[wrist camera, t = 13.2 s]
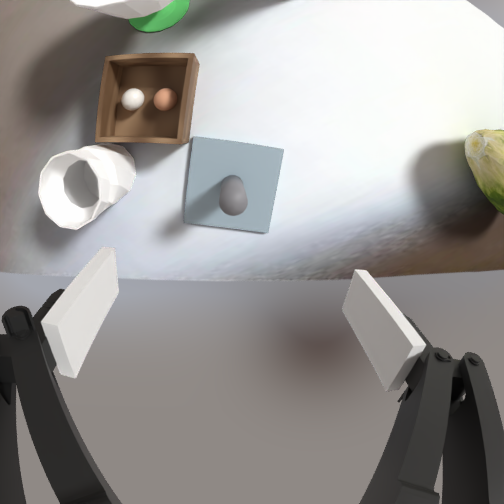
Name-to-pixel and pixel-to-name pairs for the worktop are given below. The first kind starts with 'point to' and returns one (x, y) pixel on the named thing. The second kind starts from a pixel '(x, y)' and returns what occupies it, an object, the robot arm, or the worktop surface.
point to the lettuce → (488, 163)
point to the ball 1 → (132, 99)
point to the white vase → (85, 183)
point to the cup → (140, 11)
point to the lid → (232, 184)
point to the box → (147, 98)
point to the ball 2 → (165, 99)
